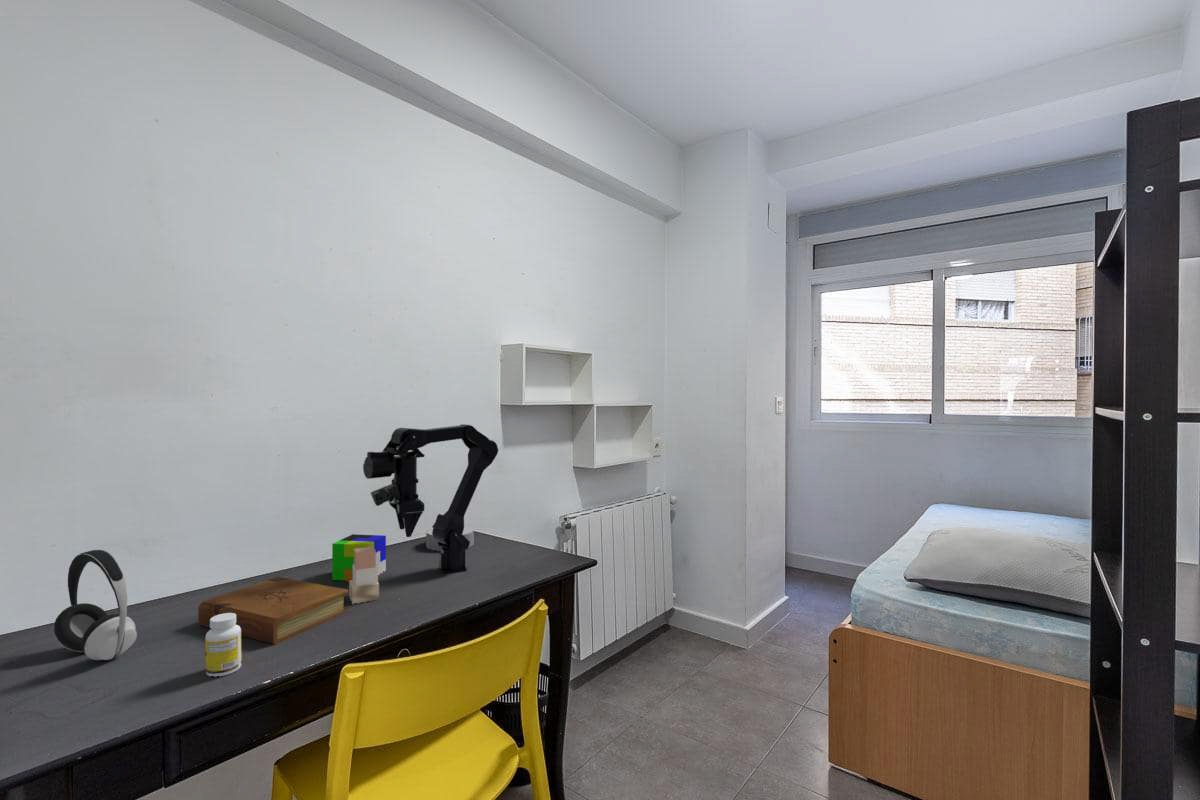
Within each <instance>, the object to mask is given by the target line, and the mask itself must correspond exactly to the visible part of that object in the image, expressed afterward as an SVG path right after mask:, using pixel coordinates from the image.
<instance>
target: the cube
mask: <svg viewBox="0 0 1200 800" xmlns="http://www.w3.org/2000/svg"><path fill="white" fill-rule="evenodd" d="M354 566H355V569H356V570H359V569H367V568H374V567H376V551H375V549H374V547H366V548H357V549H354Z"/></svg>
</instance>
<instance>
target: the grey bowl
mask: <svg viewBox="0 0 1200 800" xmlns="http://www.w3.org/2000/svg"><path fill="white" fill-rule="evenodd" d="M432 531H433V527H431V528H429V529H427V530H426V533H425V536H426V537H425V539H426V540H425V546H426V549H428V550H430V549H431V550H430V551H434V550H436V551H435V552H441V548H442V547H441V546H438V543H437V541H436V540H435V539H434V537H433V535H432ZM462 535H463V536H464V537H465V538H466V539H468V540H469V541H470V544H469V548H471V547H473V546H474V543H475V542H474V541H475V540H474V539H475V529H474V528H473V527H472V526H471V527H470V526H466V525H464V530H463V534H462ZM472 545H473V546H472ZM470 546H471V547H470Z"/></svg>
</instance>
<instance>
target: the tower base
mask: <svg viewBox="0 0 1200 800" xmlns="http://www.w3.org/2000/svg"><path fill="white" fill-rule="evenodd" d="M348 582H349V583H348V585H349V586H348V594H349V595H348V597H349V596H350V597H349V600H350V602H351V601H352V602H351V605H355V604H354V603H357V604H362V603H361V602H363V603H368V602H367V601H369V602H373V600H374V601H379V600H380V583H379V582H378V583H375V584H369V585H363V586H357V587H356V586H355V584H354V582H353V580H351V581H348ZM378 599H379V600H378Z"/></svg>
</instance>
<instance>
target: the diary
mask: <svg viewBox="0 0 1200 800" xmlns="http://www.w3.org/2000/svg"><path fill="white" fill-rule="evenodd" d="M348 594H349V589H346V588H340V587H336V586H331V585H330V586H329V585H325V584H320V583H313V582H309V581H303V580H300V579H299V580H298V579H292V578H288V577H282V576H275V577H272V578H269V579H266V580H263V581H261V582H257V583H254V584H251V585H248V586H245V587H243V588H239V589H236V590H233V591H231V592H227V593H225V594H224V593H223V594H220V595H218V596H215V597H211V598H209V599H205V600H203V601H202V602H201V603H200V604H199V606H198V625H199V626H200V625H201V626H200V627H204V626H205V628H208V627H209V628H208V629H211V628H210V619H211V618H212V617H214V616H216V615H219V614H224V613H235V614H236V623H235V624H236V625H238V626H240V628H241V637H244V638H248V639H252V640H257V641H259V642H264V643H267V642H268V644H271V643H272V645H275V644H276V645H278V644H280V643H283V642H284V641H287V640H289V639H291V638H293V637H295V636H297V635H299V633H300V634H302V633H305V632H306V631H308V630H310V629H313V628H315V627H317V626H319V625H322V624H324V623H326V622H329V621H331V620H332V619H334V618H337V617H339V615H340V614H342V615H344V614H346V613H348V612H349V609H347V608H346V609H345V608H344V596H345V595H348ZM347 611H348V612H347ZM345 612H346V613H345ZM343 613H344V614H343ZM340 616H341V615H340ZM290 637H291V638H290ZM288 638H289V639H288ZM286 639H287V640H286ZM277 643H278V644H277Z"/></svg>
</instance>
